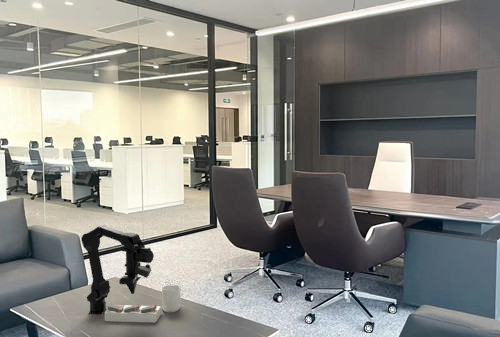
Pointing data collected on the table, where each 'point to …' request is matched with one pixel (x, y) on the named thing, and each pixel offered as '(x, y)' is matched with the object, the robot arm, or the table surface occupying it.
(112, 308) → the rocker
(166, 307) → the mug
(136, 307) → the rocker
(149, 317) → the power strip
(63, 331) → the table surface
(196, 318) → the table surface
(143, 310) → the rocker
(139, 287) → the table surface
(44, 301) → the table surface
